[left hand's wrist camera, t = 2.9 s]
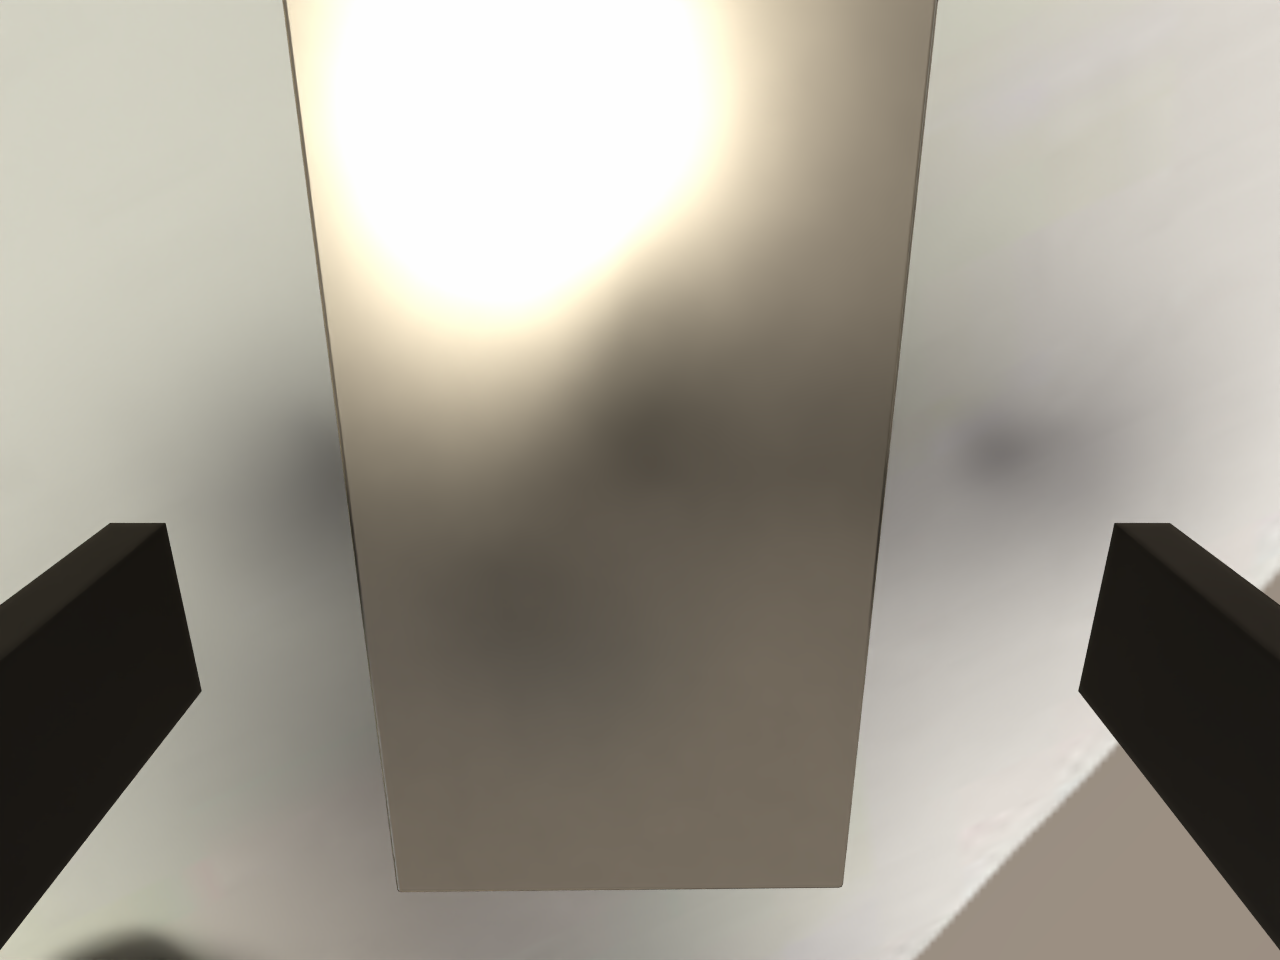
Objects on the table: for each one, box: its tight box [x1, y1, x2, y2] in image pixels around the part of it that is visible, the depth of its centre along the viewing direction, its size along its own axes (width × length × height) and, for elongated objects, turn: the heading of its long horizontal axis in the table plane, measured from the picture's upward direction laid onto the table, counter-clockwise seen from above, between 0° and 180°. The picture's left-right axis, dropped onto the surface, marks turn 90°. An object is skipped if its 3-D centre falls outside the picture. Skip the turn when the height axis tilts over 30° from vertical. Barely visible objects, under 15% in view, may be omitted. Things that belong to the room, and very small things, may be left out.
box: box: [282, 0, 938, 892], centre depth 12 cm, size 22×6×8 cm, turn 0°
